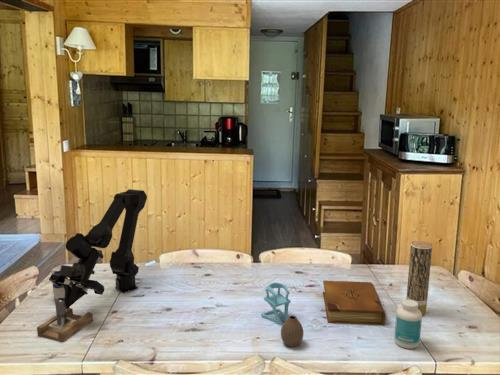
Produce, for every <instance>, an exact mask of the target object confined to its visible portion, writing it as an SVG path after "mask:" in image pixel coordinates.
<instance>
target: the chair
mask: <svg viewBox="0 0 500 375" xmlns="http://www.w3.org/2000/svg"><path fill="white" fill-rule="evenodd" d="M281 288H282V289H283V290H284V291H285V292H286V295H283V294H281ZM274 289H277V293H276V292H275V290H274ZM264 290H265V293H266V296H265V297H263V300H264V301H265V302H267V303H268V304H269V305H270V308H271V309H272V310H269V311H265V312H262V313H260V316H261V317H262V318H264V319H266V320H269V321H271V322H274V323H276V324H278V325H283V324H282V320H283V323H284V322H285V321H286V320H287V319H288V317H289V316H288V315H289V304H291V299H289V294H290V293H291V292H290V290H289V289H288V287H287V286H286V285H285V284H282V283H280V282H272V283H270V284H268V285H266V287H265V289H264ZM270 294H272V295H270ZM282 305H284V312H283V311H282V309H281V308H278V307H280V306H282ZM278 313H279V314H278ZM272 314H274V315H275V317H273V316H270V315H272Z"/></svg>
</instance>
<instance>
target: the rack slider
mask: <svg viewBox="0 0 500 375" xmlns="http://www.w3.org/2000/svg"><path fill="white" fill-rule="evenodd" d="M54 304H55V313H56V315H55V316H56V317H57V320H56V321H54V322H53V323H51V324H50V325H48V330H49V331H54V332H59V331H61V330H62V329H64V328H65V327H67V326H68V325H69V324H71V323H73V322H74V321H76V320H73V319H72V318H68V317H67V314H66V302H65V298H58V299H56V300H54Z"/></svg>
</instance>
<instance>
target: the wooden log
mask: <svg viewBox="0 0 500 375" xmlns="http://www.w3.org/2000/svg"><path fill="white" fill-rule="evenodd" d="M432 253H433V244H432V243H430V242H428V241H423V240H413V241H411V243H410V251H409V261H408V262H409V263H408V265H409V266H408V273H407V274H408V275H407V276H408V277H407V286H406V287H407V288H406V299H405V300H413V301H416V302H417V303H418V309H419V310H420V311H421V313H422V316H424V315H425V314H426V313H427V308H428V297H429V296H428V295H429V283H430V273H431V265H432V264H431V263H432Z"/></svg>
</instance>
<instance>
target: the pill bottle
mask: <svg viewBox="0 0 500 375" xmlns="http://www.w3.org/2000/svg"><path fill="white" fill-rule="evenodd" d="M422 321H423V315H422V313H421V311H420V310H419V309H418V303H417V302H416V301H413V300H406V299H403V300H402V301H401V306H399V307H398V308H397V309H396V312H395V326H394V327H395V328H394V336H393V337H394V339H393V340H394V342H395V344H396V345H397V346H399V347H400V348H403V349H407V350H411V349H416V348H418V347H419V346H420V344H421V333H422V332H421V331H422Z"/></svg>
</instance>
